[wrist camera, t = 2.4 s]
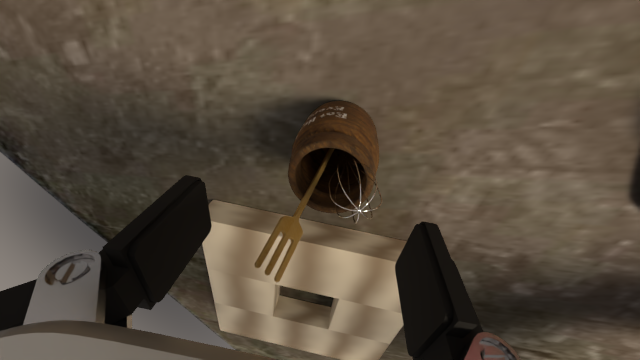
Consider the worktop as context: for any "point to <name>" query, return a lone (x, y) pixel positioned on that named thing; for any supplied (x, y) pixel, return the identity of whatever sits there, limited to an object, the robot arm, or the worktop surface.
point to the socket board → (304, 284)
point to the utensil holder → (327, 171)
